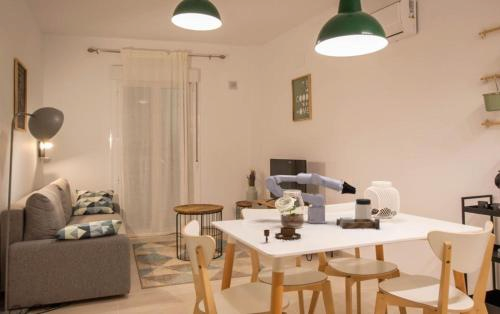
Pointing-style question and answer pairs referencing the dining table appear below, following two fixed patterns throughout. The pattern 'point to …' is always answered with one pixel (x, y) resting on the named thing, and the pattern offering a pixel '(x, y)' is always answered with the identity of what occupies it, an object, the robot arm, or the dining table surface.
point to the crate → (346, 220)
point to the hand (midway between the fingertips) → (355, 191)
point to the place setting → (284, 234)
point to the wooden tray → (360, 224)
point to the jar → (363, 209)
